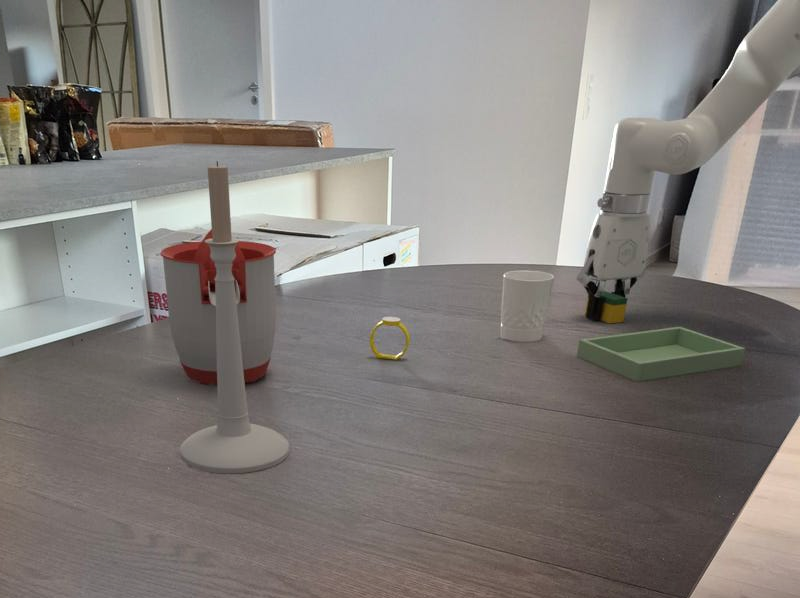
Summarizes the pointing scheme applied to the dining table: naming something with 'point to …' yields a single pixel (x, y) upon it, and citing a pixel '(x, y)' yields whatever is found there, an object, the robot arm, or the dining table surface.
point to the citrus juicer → (197, 306)
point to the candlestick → (229, 365)
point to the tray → (660, 353)
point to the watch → (390, 322)
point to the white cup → (525, 304)
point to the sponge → (612, 307)
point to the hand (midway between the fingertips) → (603, 317)
